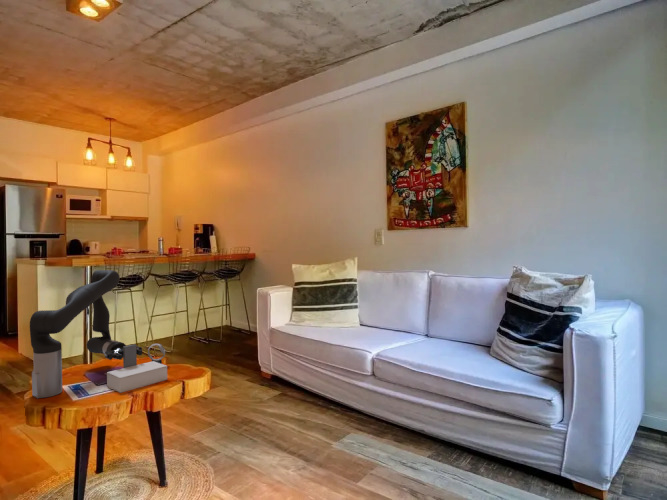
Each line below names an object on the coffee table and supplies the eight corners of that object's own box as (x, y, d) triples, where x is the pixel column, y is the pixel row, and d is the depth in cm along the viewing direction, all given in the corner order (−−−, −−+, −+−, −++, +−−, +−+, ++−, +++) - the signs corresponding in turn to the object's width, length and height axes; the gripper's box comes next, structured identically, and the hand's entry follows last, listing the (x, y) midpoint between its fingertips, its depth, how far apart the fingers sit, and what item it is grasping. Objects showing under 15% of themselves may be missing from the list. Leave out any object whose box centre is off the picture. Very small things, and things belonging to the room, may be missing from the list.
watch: (166, 367, 196) (165, 344, 196) (147, 369, 193) (147, 346, 193) (165, 363, 202) (165, 341, 201) (147, 366, 198) (147, 343, 198)
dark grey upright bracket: (121, 389, 164) (120, 354, 163) (107, 383, 172) (106, 349, 171) (164, 377, 178) (164, 345, 178) (149, 372, 186) (149, 341, 186)
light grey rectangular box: (120, 392, 162) (120, 377, 162) (107, 386, 170) (106, 372, 170) (167, 379, 178) (167, 365, 178) (153, 374, 186) (153, 361, 186)
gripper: (97, 344, 182) (114, 349, 172) (130, 338, 193) (147, 343, 183) (98, 361, 182) (114, 367, 172) (130, 354, 193) (147, 359, 183)
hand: (131, 355), depth 177 cm, fingers open, 8 cm apart
